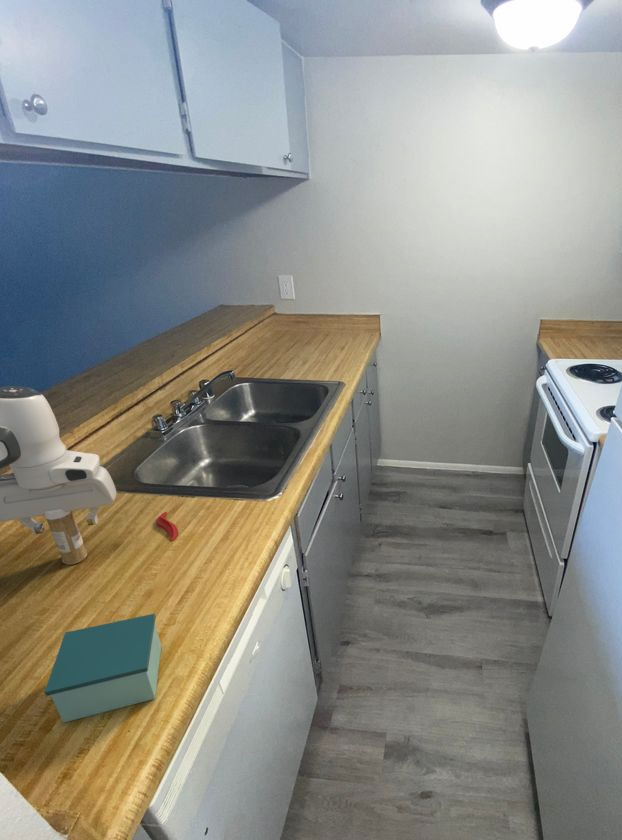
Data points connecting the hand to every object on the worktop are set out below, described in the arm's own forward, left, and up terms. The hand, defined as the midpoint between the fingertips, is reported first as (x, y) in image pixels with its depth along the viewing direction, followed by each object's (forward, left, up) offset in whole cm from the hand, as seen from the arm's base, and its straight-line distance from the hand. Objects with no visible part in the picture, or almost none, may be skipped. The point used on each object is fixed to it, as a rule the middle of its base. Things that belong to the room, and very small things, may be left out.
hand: (66, 527), depth 95 cm
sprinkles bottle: (0, 0, -8) cm, 8 cm away
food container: (+13, -34, -8) cm, 37 cm away
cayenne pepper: (+17, +6, -8) cm, 19 cm away
